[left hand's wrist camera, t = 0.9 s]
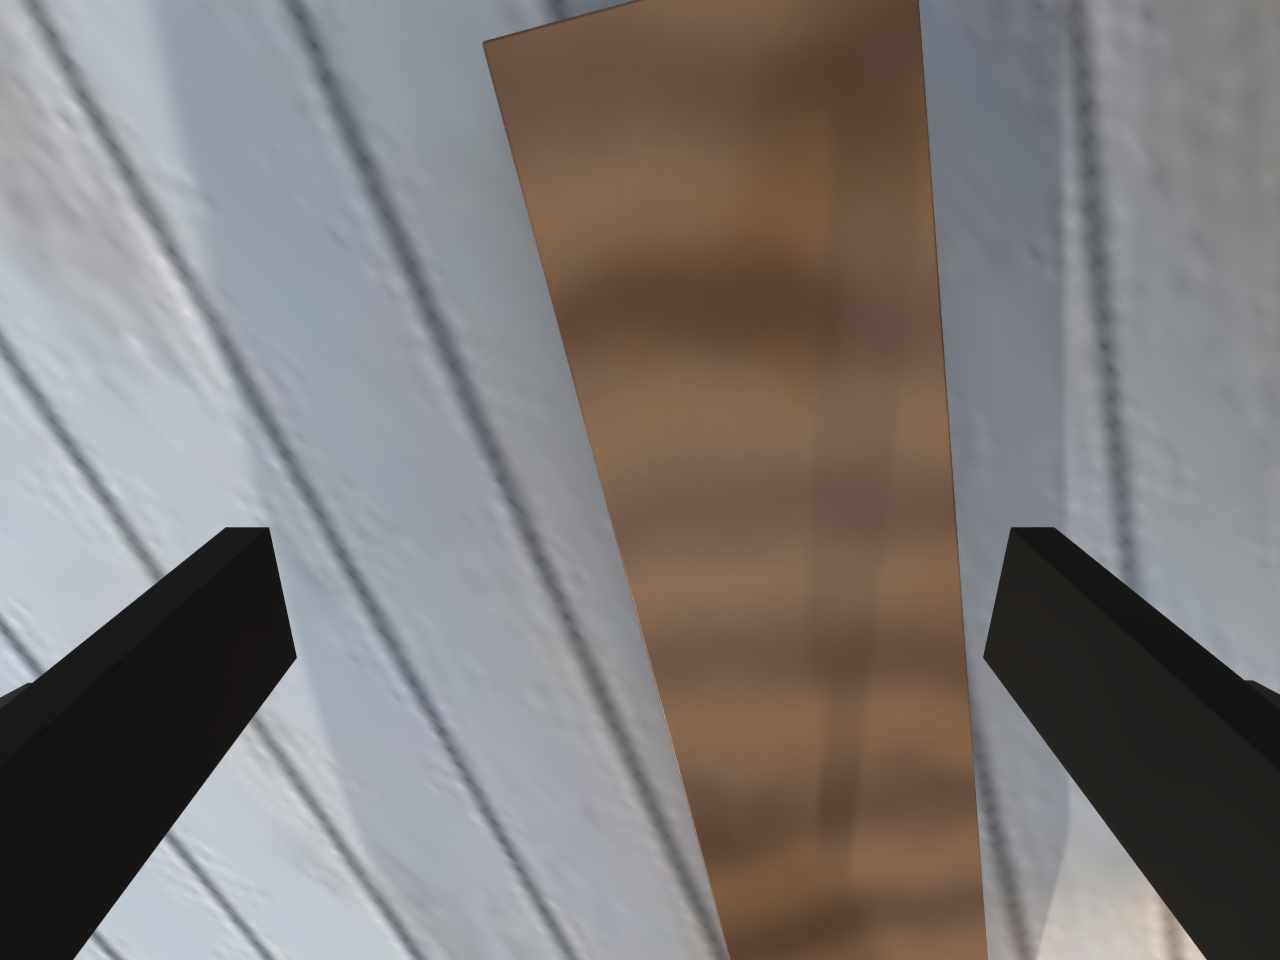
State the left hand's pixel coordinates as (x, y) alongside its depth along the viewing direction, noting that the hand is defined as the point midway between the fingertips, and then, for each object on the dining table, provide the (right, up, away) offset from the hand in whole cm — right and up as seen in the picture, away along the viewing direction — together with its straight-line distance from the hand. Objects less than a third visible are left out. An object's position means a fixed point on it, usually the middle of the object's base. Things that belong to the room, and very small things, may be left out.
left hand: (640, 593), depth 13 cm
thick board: (+10, -18, +24) cm, 31 cm away
